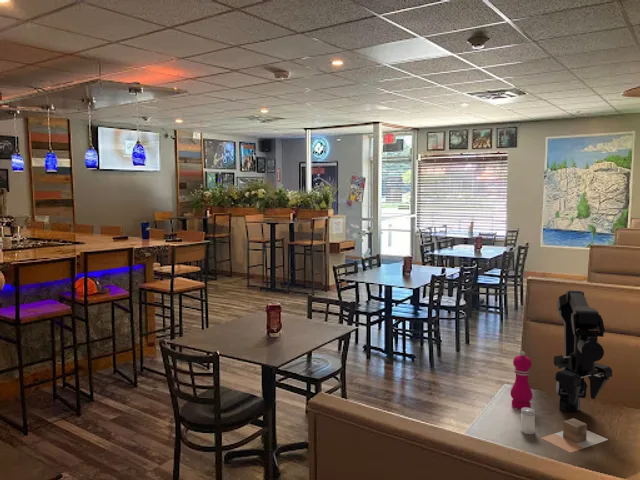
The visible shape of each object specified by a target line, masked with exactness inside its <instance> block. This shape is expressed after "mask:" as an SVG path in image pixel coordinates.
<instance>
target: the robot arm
mask: <svg viewBox="0 0 640 480" xmlns="http://www.w3.org/2000/svg"><path fill="white" fill-rule="evenodd" d="M556 310H557V312H558V316H559V318H560V320H561V321H562V322H563V338H564V339H563V341H564V342H563V346H564V347H563V350H564V352H563V353H564V354H563V355H564V356H563V355H562V354H561V355H560V354H558V355H554V356H553V364H554V366H555V367H557V368H558V369H560V370H559V371H557V372H555V374H554V376H555V377H554V380H555V381H556V382H555V383H556V384H555V392H556V394H557V396H559V401H558V402H559V403H558V404H559V405H558V407H559V408H558V409H559V411H562V412H564V413H578V412H579V411H580V407H581V398H582V399H586V397H587V390H588V386H589V391H590V392H589V393H590V398H591V399H592V400H596V399H597V397H598V394H599V393H600V391H602V388H603V387H604V386H605V384H606V383H607V382H608V380H610V378H611V377H613V369H612V368H611V367H610V366H607V365H604V364H602V363H598V362H599V361H600V360H602V359H603V358H604V355H605V351H604V348H603V346H602V345H601V343H600V342H599V340H598V337H601V338H604V334H605V330H606V329H605V324H604V319H603V317H602V315H601V314H600V313H599V311H598V310H597V309H596V308H594V307H590V306H589V304H588V302H587V298H586V297H585V292H584V291H582V290H570V289H569V290H567V291H566V292H565V293H564V294H562V295H560V296H559V297H558V299H557V302H556ZM586 377H587V378H588V380H589V385H588V384H587V381H586V380H585V378H586Z"/></svg>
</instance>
